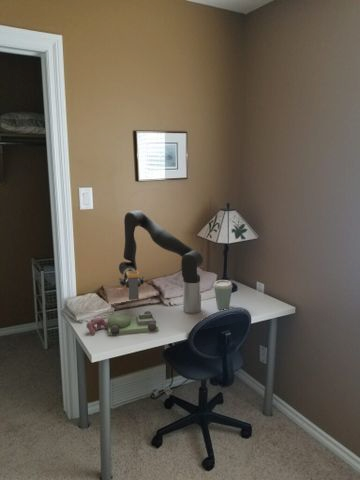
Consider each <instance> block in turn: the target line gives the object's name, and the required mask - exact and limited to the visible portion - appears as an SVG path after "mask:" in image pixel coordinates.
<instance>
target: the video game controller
mask: <svg viewBox="0 0 360 480" xmlns="http://www.w3.org/2000/svg"><path fill="white" fill-rule="evenodd" d="M103 327H104V328H105V329H108V322H106V321H105V319H104V318H103V317H95V318H92V319H91V320H89V321H88V322H87V323H86V328H87V329H88V330H89V333H90V334H92V335H95V333H96V331H97V329H98V330H101V328H103Z"/></svg>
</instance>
